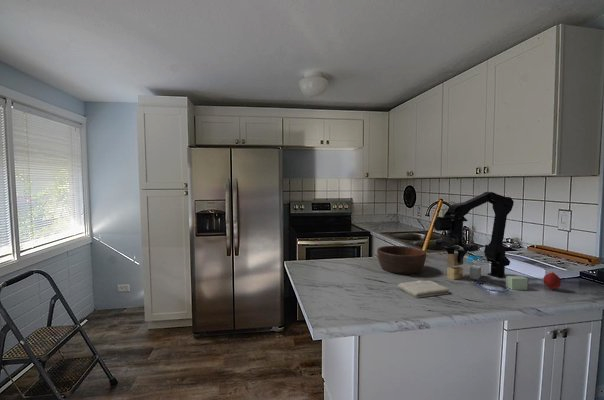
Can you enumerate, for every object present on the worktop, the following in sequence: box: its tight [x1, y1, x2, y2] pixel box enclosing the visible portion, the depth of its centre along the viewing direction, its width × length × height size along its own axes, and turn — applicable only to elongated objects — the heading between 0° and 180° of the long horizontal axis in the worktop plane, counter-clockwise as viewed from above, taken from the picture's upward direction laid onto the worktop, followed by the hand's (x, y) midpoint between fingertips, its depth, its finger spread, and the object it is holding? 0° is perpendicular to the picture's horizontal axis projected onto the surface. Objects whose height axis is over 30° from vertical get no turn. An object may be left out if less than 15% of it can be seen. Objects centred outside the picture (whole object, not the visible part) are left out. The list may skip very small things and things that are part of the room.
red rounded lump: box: [542, 270, 562, 291], centre depth 125 cm, size 6×6×8 cm
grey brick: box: [469, 264, 482, 280], centre depth 142 cm, size 7×4×5 cm, turn 138°
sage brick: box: [505, 275, 529, 291], centre depth 126 cm, size 7×4×5 cm, turn 93°
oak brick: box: [446, 265, 464, 280], centre depth 141 cm, size 7×4×5 cm, turn 118°
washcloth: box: [397, 279, 450, 299], centre depth 123 cm, size 12×18×3 cm, turn 109°
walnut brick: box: [446, 252, 464, 267], centre depth 141 cm, size 7×4×5 cm, turn 118°
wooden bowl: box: [376, 245, 427, 275], centre depth 156 cm, size 25×25×10 cm
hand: (455, 262), depth 141 cm, fingers closed on walnut brick, 3 cm apart
